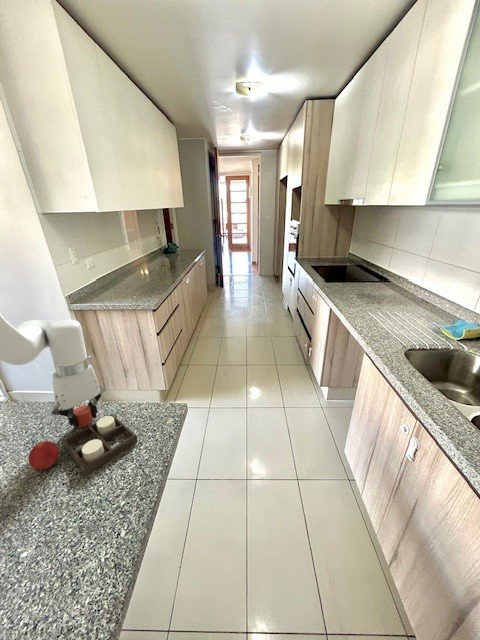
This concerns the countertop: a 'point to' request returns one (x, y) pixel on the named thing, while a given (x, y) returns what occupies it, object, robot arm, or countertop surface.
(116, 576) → the countertop surface
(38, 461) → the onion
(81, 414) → the cylinder
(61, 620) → the countertop surface
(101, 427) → the token
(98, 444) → the cylinder
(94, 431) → the divided brown tray
